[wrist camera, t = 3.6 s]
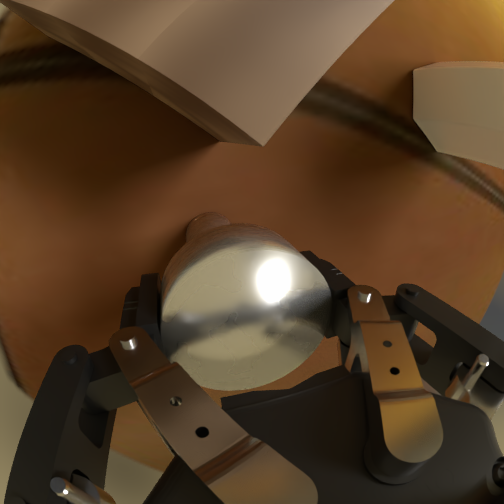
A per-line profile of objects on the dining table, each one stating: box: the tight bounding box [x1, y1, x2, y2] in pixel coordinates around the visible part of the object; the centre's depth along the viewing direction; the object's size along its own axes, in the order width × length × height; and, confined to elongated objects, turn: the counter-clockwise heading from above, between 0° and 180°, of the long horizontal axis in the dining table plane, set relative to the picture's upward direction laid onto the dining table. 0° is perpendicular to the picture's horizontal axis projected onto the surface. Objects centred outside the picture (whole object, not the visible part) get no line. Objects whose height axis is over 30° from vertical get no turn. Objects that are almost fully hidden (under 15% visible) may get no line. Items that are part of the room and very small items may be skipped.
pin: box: [160, 212, 332, 391], centre depth 13 cm, size 6×6×10 cm
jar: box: [413, 61, 504, 170], centre depth 13 cm, size 9×8×12 cm
